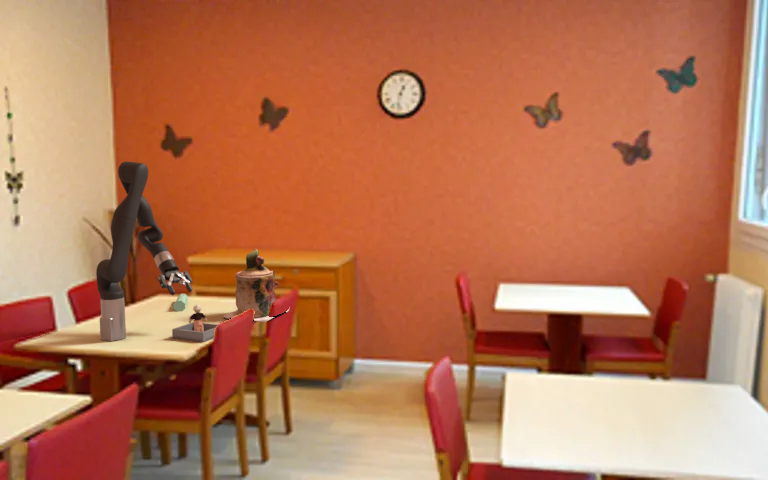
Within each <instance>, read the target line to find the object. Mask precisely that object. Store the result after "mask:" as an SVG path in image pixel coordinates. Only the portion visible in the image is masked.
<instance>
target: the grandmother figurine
mask: <svg viewBox="0 0 768 480" xmlns="http://www.w3.org/2000/svg"><path fill="white" fill-rule="evenodd" d="M201 306H202V305H200V304H194V306H193V311H194V313H193V314H192V315H190V317H189V320H188V324H189V323H192V322H194V331H199V332H204V328H203V323H204V322H208V319H207V317H206V315H205V314H204V313H203V312H201V310H202V307H201ZM203 320H204V322H203Z"/></svg>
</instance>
